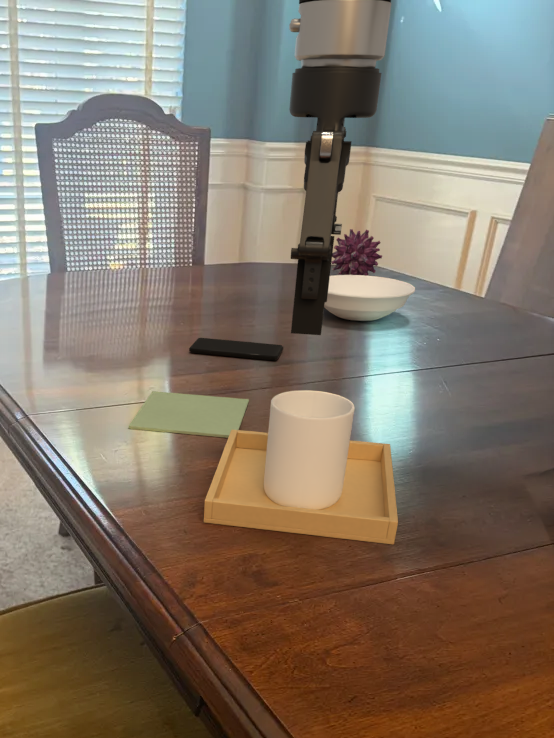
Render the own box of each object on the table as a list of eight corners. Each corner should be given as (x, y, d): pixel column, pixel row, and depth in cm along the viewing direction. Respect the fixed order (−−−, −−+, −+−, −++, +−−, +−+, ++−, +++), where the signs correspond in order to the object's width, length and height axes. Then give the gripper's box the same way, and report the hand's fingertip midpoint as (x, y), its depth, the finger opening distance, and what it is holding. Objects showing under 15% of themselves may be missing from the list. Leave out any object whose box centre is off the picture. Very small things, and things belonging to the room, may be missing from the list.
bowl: (346, 336, 139) (351, 300, 136) (286, 311, 155) (289, 279, 152) (431, 325, 146) (438, 291, 143) (366, 303, 162) (370, 271, 159)
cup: (259, 506, 80) (267, 414, 75) (269, 461, 90) (277, 376, 85) (341, 515, 78) (355, 421, 73) (341, 468, 88) (354, 382, 83)
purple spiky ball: (354, 294, 177) (313, 275, 183) (383, 284, 183) (343, 266, 189) (369, 243, 169) (326, 225, 175) (399, 235, 176) (357, 218, 182)
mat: (248, 401, 109) (249, 399, 109) (235, 438, 97) (236, 435, 97) (152, 393, 111) (152, 391, 111) (128, 428, 100) (128, 425, 99)
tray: (386, 463, 91) (390, 443, 89) (393, 544, 74) (398, 522, 73) (230, 448, 94) (231, 429, 93) (203, 522, 78) (204, 500, 76)
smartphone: (277, 356, 125) (188, 348, 129) (277, 361, 125) (187, 353, 129) (284, 344, 130) (198, 337, 134) (283, 349, 131) (198, 341, 135)
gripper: (302, 70, 77) (283, 287, 88) (280, 58, 56) (258, 347, 67) (379, 69, 76) (350, 291, 86) (386, 58, 55) (346, 353, 65)
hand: (310, 316), depth 76 cm, fingers open, 13 cm apart
